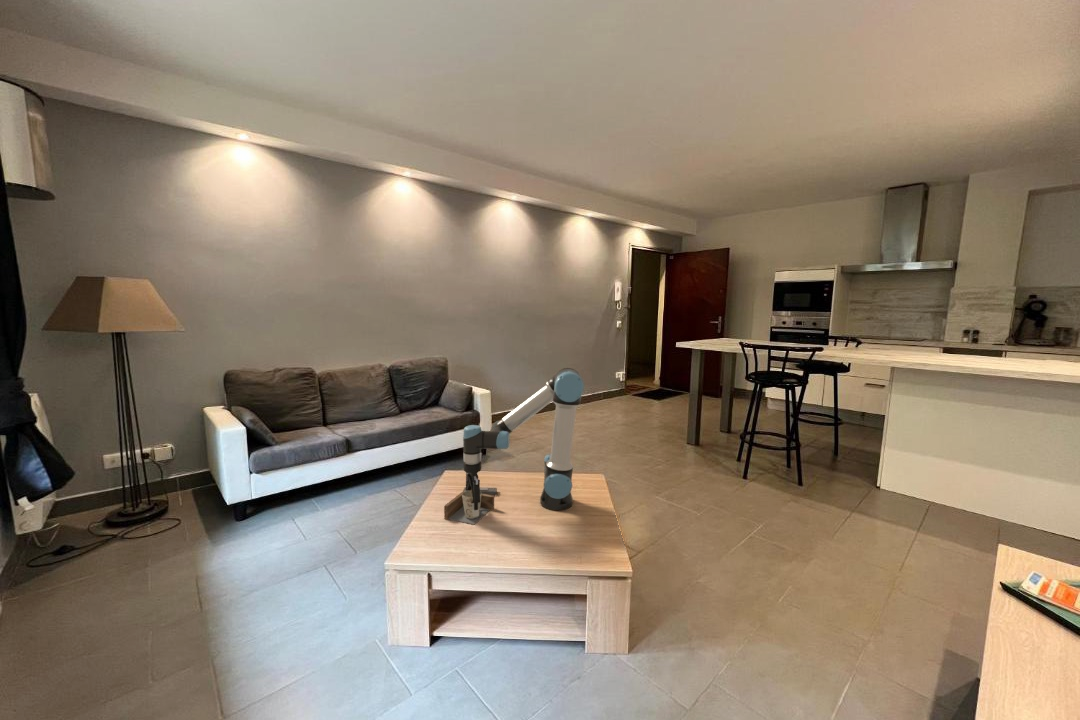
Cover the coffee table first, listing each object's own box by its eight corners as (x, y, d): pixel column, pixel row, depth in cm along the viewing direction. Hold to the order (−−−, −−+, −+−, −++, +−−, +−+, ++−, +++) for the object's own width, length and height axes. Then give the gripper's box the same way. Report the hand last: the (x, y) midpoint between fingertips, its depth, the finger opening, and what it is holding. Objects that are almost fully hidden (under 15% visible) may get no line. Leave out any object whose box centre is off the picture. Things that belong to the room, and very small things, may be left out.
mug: (459, 519, 181) (459, 496, 180) (469, 506, 193) (469, 485, 192) (478, 520, 180) (478, 497, 179) (487, 508, 192) (486, 486, 191)
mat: (490, 509, 191) (490, 508, 191) (474, 524, 178) (474, 524, 178) (465, 504, 195) (465, 504, 195) (448, 519, 182) (448, 518, 182)
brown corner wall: (494, 508, 192) (494, 495, 191) (476, 525, 177) (476, 512, 176) (464, 502, 198) (464, 490, 197) (444, 519, 182) (444, 505, 182)
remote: (497, 491, 210) (496, 486, 209) (495, 495, 205) (495, 490, 205) (464, 491, 210) (464, 486, 210) (463, 495, 206) (462, 490, 205)
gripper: (487, 468, 175) (488, 521, 177) (474, 452, 193) (474, 500, 196) (470, 471, 171) (470, 524, 174) (458, 455, 190) (458, 503, 193)
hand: (472, 511), depth 185 cm, fingers open, 7 cm apart
